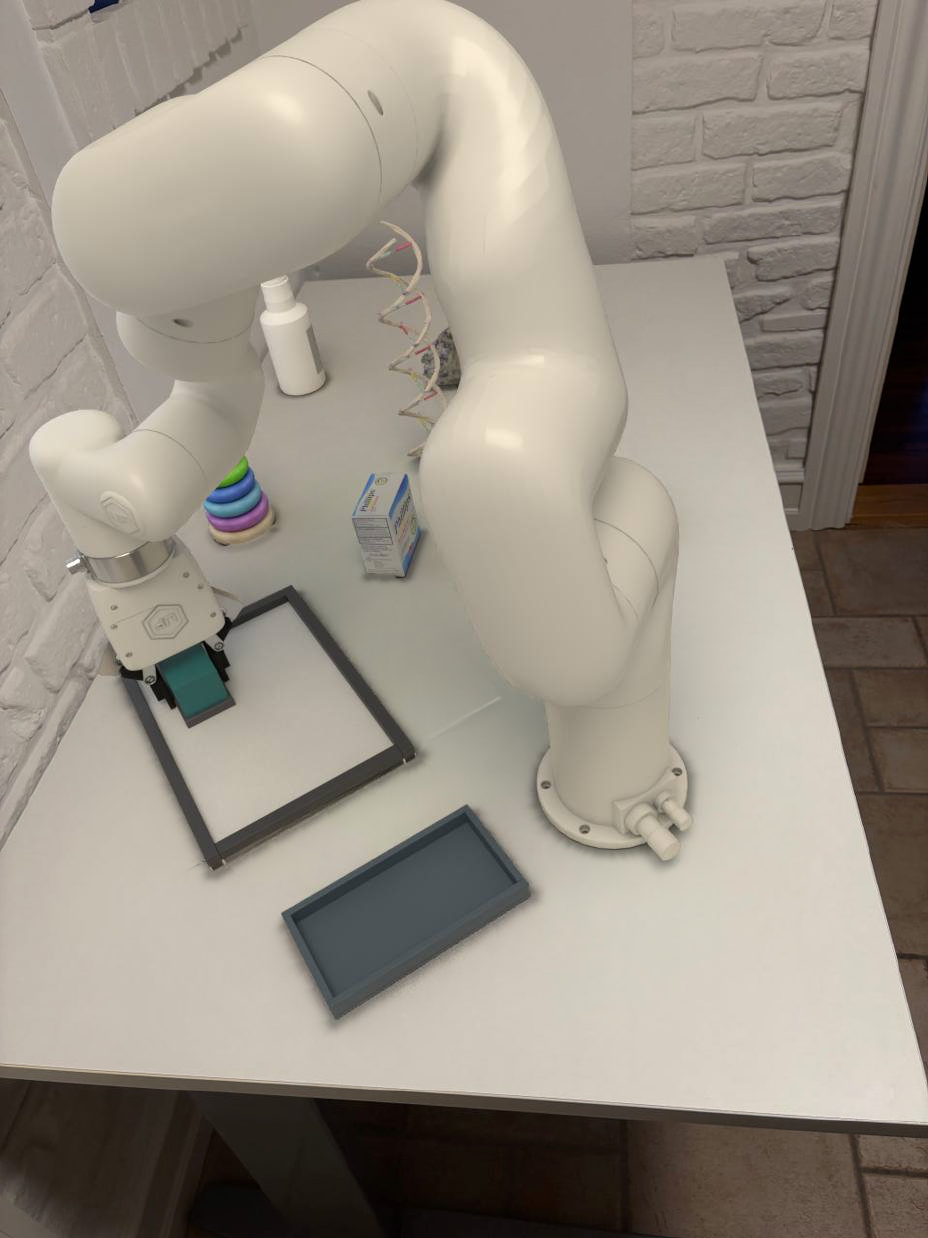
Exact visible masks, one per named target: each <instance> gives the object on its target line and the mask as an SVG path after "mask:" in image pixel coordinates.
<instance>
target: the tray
mask: <svg viewBox="0 0 928 1238" xmlns="http://www.w3.org/2000/svg"><path fill="white" fill-rule="evenodd" d="M529 898H531V892H530V887H529V882H528V881H527V879H525V878H524V876H523V875H522V874H521V872H520V871H519V869H518V868H517V867H516V866H515V864H514V863H513V862H512V860H511V859H510V858H509V857H508V855H507V854H506V852H505V851H504V850H503V849H502V847H501V846H500V845H499V843H498V842H497V841H496V839H494V837H493V836H492V834H491V833H490V832H489V830H488V828H486V826H485V825H484V824H483V823H482V821H481V820H480V819H479V817H478V816H477V815H476V814H475V812H474V811H473V810H472V808H471V807H470V806H469V804H464V805H462V806H461V807H459V808H458V809H456V810H454V811H453V812H451V813H449V814H448V815H445V816H444V817H443V818H441V819H439V820H437V821H436V822H433V823H432V824H430V825H429V826H427V827H425V828H424V829H422V830H420V831H418V832H416V833H415V834H413V835H411V836H410V837H408V838H407V839H405V840H403V841H402V842H400V843H398V844H396V845H395V846H393V847H391V848H390V849H388V850H386V851H384V852H382V853H381V854H379V855H377V856H375V857H374V858H372V859H371V860H369V861H368V862H365V863H364V864H362V865H360V866H359V867H357V868H356V869H354V870H352V871H350V872H349V873H347V874H345V875H344V876H341V877H340V878H338V879H337V880H335V881H333V882H331V883H330V884H328V885H326V886H325V887H323V888H321V889H319V890H318V891H316V892H314V893H313V894H311V895H309V896H308V897H306V898H304V899H302V900H301V901H299V902H297V903H295V904H294V905H292V906H290V907H289V908H287V909H286V910H283V911H282V912H281V913H280V915H281V917H282V919H283V921H284V923H285V924H286V926H287V929H288V931H289V933H290V935H291V936H292V938H293V940H294V942H295V944H296V946H297V949H298V950H299V952H300V954H301V957H302V958H303V960H304V962H305V964H306V965H307V968H308V969H309V972H310V973H311V975H312V978H313V979H314V982H315V983H316V985H317V987H318V989H319V991H320V994H321V995H322V997H323V999H324V1001H325V1003H326V1005H327V1007H328V1009H329V1010H330V1012H331V1014H332V1016H333V1018H334V1020H335V1021H337V1020H338V1019H340V1018H342V1017H343V1016H345V1015H346V1014H348V1013H350V1012H351V1011H352V1010H354V1009H356V1008H357V1007H359V1006H361V1005H362V1004H364V1003H365V1002H367V1001H369V1000H370V999H371V998H373V997H375V996H376V995H378V994H379V993H381V992H383V991H384V990H386V989H387V988H389V987H390V986H392V985H394V984H395V983H397V982H398V981H401V980H402V979H403V978H405V977H406V976H408V975H410V974H411V973H412V972H414V971H415V970H417V969H419V968H421V967H422V966H423V965H425V964H426V963H429V962H430V961H431V960H433V959H435V958H436V957H437V956H440V955H441V954H442V953H444V952H446V951H447V950H449V949H450V948H452V947H454V946H455V945H457V944H458V943H460V942H462V941H463V940H465V939H466V938H468V937H470V936H471V935H473V934H474V933H475V932H477V931H478V930H481V929H482V928H483V927H485V926H487V925H488V924H490V923H492V922H493V921H495V920H497V919H498V918H499V917H501V916H502V915H504V914H505V913H507V912H509V911H510V910H512V909H513V908H515V907H517V906H518V905H520V904H521V903H523V902H525V901H526V900H527V899H529Z"/></svg>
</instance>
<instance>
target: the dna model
mask: <svg viewBox="0 0 928 1238" xmlns="http://www.w3.org/2000/svg"><path fill="white" fill-rule="evenodd" d="M380 225H382V226H384V227H387V228H388V229H391V230H393V231H394V232H395V233H397V234H399V235H400V236H402V237H403V238H404V239H405V240H406V241H407V243H405V244H403V245H400V246H399V247H397V248H395V249H394V250H391V251H389V249H391V248H392V247H393V246H394V245H395V244H396V243H397V242H398V240H397V238H396V237H393V238H391V239H390V240H389V241H388V242H387V243H386V244H385V245H384V246H383V247H381V249H379V250H378V251H377V252H376V253H375V254H374V255H373V256H372V257H371V256H370V257H369V259H368V260H367V262H366V264H365V267H366V269H367V271H369V272H371V273H373V274H376V275H380V276H383V277H386V278H390V279H391V280H392V281H393V282H394V283H395V285H396V286H397V287H398V288H399V290H400V291H401V295H400V296H399V297H398V298H397V299H396V300H395V301H394V303H392V304H391V305H390V306H388V307H387V308H385V309H384V310H383V311H382V312H378V313H376V314H377V315H378V316H377V321H378V323H380V324H383V325H387V326H390V327H391V326H392V327H395V328H398V329H399V330H400V329H401V330H402V331H403V332H404V334H405V335H407V337H408V339H409V341H410V342H411V343H412V345H411V346H410V347H409V348H408V349H407V350H406V351H405V352H404V353H403V354H401V355H400V356H399V357H397V358H396V359H394V360H393V361H391V362H390V363H388V365H387V367H388V370H389V371H393V372H398V373H402V374H405V375H406V374H407V375H409V376H411V377H412V379H413V380H414V382H416V383H417V386H418V387H419V389H420V390H421V392H420V393H419V394H418V395H417V396H416V397H414V399H413V400H411V401H410V402H408V403H407V404H406V405H405V406H402V407H401V408H399V409H397V415H398V416H403V417H410V418H416V419H418V420H419V422H420V423H421V424H422V426H423V427H424V428H425V429H426V432H427V434H428V436H429V435H430V433H431V430H430V429H429V428H428V427H427V425H426V423H425V422H427V423H429V424H430V426H431V428H433V427H434V426H435V424H436V422H437V420H435V419H433V418H431V417H429V416H427V415H424V414H421V412H417V413H416V412H412V411H408V410H411V409H412V408H414V407H416V406H418V405H420V404H421V403H422V402H423V401H427V400H429V399H431V398H433V397H434V396H436V395H438V396H439V397H440V399H441V401H442V413H443V412H444V411H445V409H446V408H447V406H448V402H447V399H446V396H445V394H444V392H443V390H442V388H441V387H440V386H439V385H436V384H435V382H436V380H437V377H438V373H439V369H440V359H439V357H438V354H437V351H436V348H435V344H436V342H434V341H431V340H430V338H428V337H427V334H428V333H429V330H430V327H431V326H430V325H431V321H432V315H433V313H432V309H431V305H430V301H429V299H428V297H427V296H426V294H425V293H424V292H423V291H422V290H421V289H420V288H418V287H417V284H418V282H419V280H420V277H421V274H422V270H423V257H422V251H421V249H420V247H419V245H418V244H417V243H418V242H417V238H416V236H415V237H413V238H412V236H410V234H409V233H408V232H407V231H405V230H403V229H402V228H401V227H399V226H398V225H396V224H393V223H390V222H388V221H385V220H380ZM408 247H412V250H413V252H414V254H415V255H414V256H415V257H416V259H417V268H416V271H415V273H414V274H413V277H412V279H411V281H408V280H406V279H405V278H402V277H400V276H399V275H396V274H395V273H393V272H389V271H386V270H382V269H378V268H376V267H375V265H374V264H375V263H376V262H377V261H379V260H382V259H383V258H386V257H388V256H390V255H392V254H394V253H395V252H399V251H401V250H403V249H405V248H408ZM399 283H400V284H399ZM401 285H404V286H406V289H404V287H402V286H401ZM412 292H414V293H415V294H416V295H417V296H416V297H414V298H412V299H410V300H407V301H406V302H405V303H402V302H404V301H405V299H406V298H407V297H408V296H409V295H410V294H411V293H412ZM418 300H421V301H422V305H423V309H424V312H425V316H426V317H425V320H424V326H423V329H422V330H421V331H419V330H418V329H415V328H414V327H411V326H410V325H407V324H404V322H403V321H402V320H401V321H400V322H397V321H394V320H391V319H388V318H385V317H386V316H387V315H389V314H391V313H392V312H395V311H397V310H399V309H401V308H403V307H404V306H405V305H406V306H408V305H410V304H412V303H414V302H416V301H418ZM401 303H402V304H401ZM409 334H413V335H414V336H416V337H417V339H416V341H415V340H414V339H413V338H412V337H411V336H410V335H409ZM422 342H423V343H424V344H426V345H427V346H426V347H424V348H422V349H421V348H420V349H419V350H416V349H417V348H418V347H419V346H420V345H421V343H422ZM428 349H431V351H432V352H433V354H434V360H435V369H434V374H433V376H432V378H431V379H428V378H427V377H425V376H424V375H423V374H421V373H419V372H416V371H414V370H413V369H412V367H409V368H402V367H398V365H400V364H402V363H403V362H405V361H407V360H409V359H411V358H412V357H414V356H417V355H419V354H421V353H423V352H426V351H427V350H428ZM415 350H416V351H415ZM414 351H415V352H414ZM413 352H414V353H413ZM418 379H419V380H421V381H423V382H425V383H426V384H427V385H426V387H425V388H424V387H423V386H422V384H421V383H420V381H419V380H418ZM431 389H433V390H434V391H435V392H433V393H432V394H429V392H430V391H431ZM427 394H429V395H427ZM426 395H427V396H426ZM425 396H426V397H425ZM426 441H427V439H426V440H424V441H423V442H422V443H419V444H418V446H416V447H414V448H412V449H410V450H409V451H407V452H406V453H405V455H406V456H407V457H417V458H421V455H422V452H421V453H420V451H423V448H424V446H425V443H426Z"/></svg>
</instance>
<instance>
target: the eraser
mask: <svg viewBox="0 0 928 1238" xmlns="http://www.w3.org/2000/svg"><path fill="white" fill-rule="evenodd" d="M156 666H157V668H158V670H159V672H160V673H161V675H162V677H163V679H164V681H165V683H166V685H167V687H168V689H169V691H170V693H171V695H172V696H173V698H174V702H175V704H176V706H177V708H178V710H179V712H180V714H181V716H182V717H183V719H184V721H185V723H186V725H187V727H188V728H191V727H193V726H195V725H197V724H199V723H201V722H203V721H205V720H207V719H209V718H211V717H213V716H215V715H217V714H219V713H221V712H223V711H225V710H227V709H229V708H231V707H233V706H235V705H236V703H235V701H234V699H233V697H232V695H231V694H230V692H229V690H228V689H227V687H226V685H225V684H224V682H223V680H222V678H221V677H220V676H219V674H218V672H217V670H216V668H215V667H214V665H213V663H212V662H211V660H210V658H209V656H208V655H207V653H206V651H205V650H204V648H203V646H202V645H201V643H200V642H199V643H197V644H195V645H193V646H191V647H189V648H187V649H185V650H183V651H181V652H179V653H177V654H175V655H173V656H170V657H168V658H166V659H164V660H162V661H160V662H158V663H156Z"/></svg>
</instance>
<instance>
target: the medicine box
mask: <svg viewBox="0 0 928 1238" xmlns="http://www.w3.org/2000/svg"><path fill="white" fill-rule="evenodd" d="M415 507H416V506H415V502H414V499H413V494H412V489H411V485H410V481H409V476H408V474H407V473H404V472H378V473H377V472H374V473H373V472H372V473H370V475H369V478H368V480H367V482H366V484H365V486H364V489H363V491H362V493H361V494H360V497H359V499H358V502H357V504H356V506H355V508H354V510H353V511H352V512H353V513H352V514H351V516H350V519H351V524H352V527H353V530H354V535H355V537H356V541H357V544H358V547H359V551H360V554H361V557H362V561H363V565H364V568H365V571H366V573H372V574H392V576H394V577H401V578H402V577H403V578H405V576H406V573H407V570H408V568H409V565H410V564H411V560H412V557H413V554H414V551H415V549H416V546H417V543H418V540H419V538H420V535H421V529H420V525H419V521H418V516H417V512H416V508H415Z"/></svg>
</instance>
